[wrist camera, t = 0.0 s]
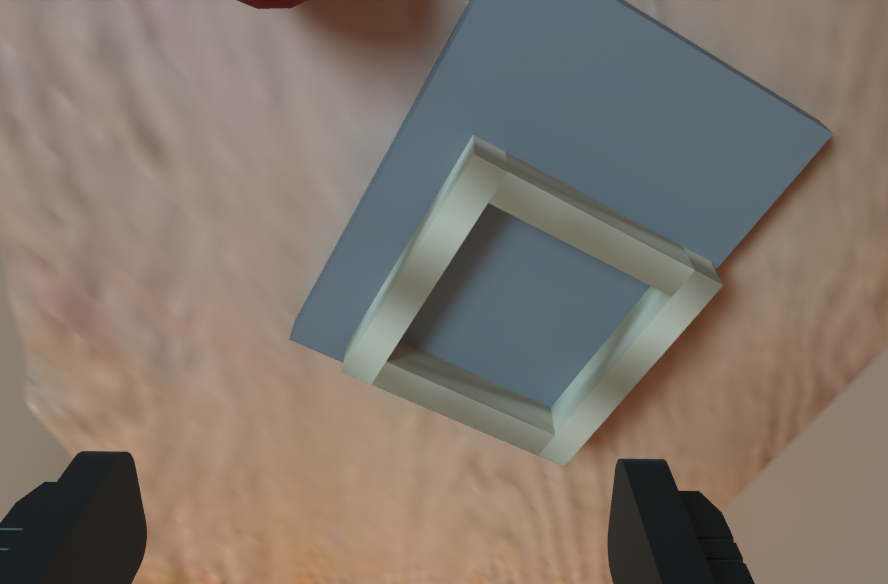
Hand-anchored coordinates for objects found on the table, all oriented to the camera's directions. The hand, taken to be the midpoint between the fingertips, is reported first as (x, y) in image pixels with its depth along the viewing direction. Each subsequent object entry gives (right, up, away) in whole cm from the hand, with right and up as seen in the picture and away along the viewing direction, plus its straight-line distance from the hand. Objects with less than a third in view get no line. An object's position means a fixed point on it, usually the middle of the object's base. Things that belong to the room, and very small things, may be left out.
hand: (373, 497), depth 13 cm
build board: (+5, +6, +22) cm, 24 cm away
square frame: (+5, +3, +23) cm, 23 cm away
